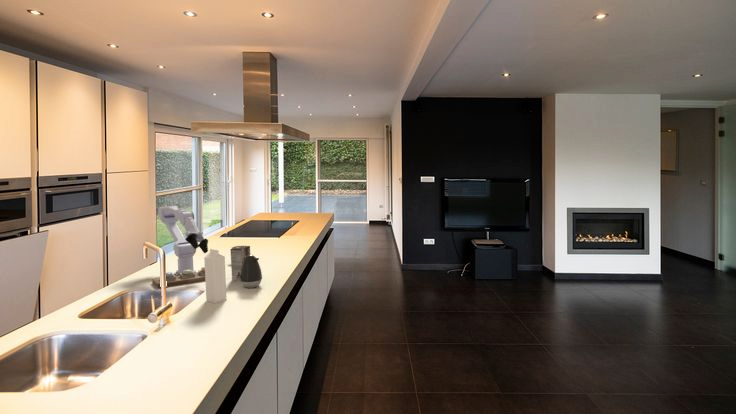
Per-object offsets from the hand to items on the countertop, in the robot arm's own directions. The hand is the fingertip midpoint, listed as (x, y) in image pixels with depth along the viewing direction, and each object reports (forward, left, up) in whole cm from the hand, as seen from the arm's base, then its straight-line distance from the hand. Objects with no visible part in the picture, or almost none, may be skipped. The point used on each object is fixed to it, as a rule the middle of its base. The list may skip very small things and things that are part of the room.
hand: (201, 250), depth 222 cm
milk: (+39, -6, -15) cm, 43 cm away
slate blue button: (-3, -16, -12) cm, 20 cm away
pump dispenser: (+28, +14, -15) cm, 35 cm away
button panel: (-3, -7, -15) cm, 17 cm away
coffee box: (+10, +16, -15) cm, 25 cm away
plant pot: (-29, +30, -15) cm, 44 cm away
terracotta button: (-3, +2, -12) cm, 12 cm away
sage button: (-3, -7, -12) cm, 14 cm away
